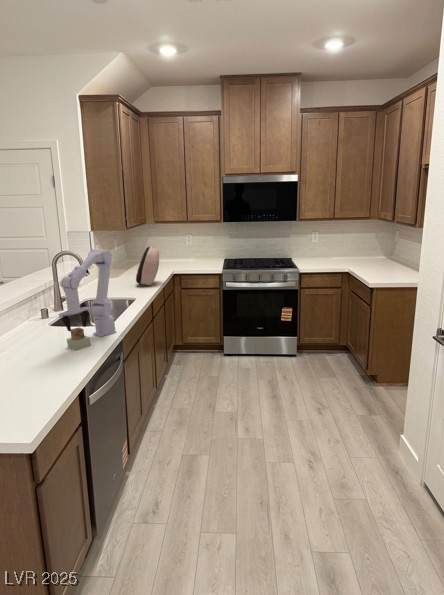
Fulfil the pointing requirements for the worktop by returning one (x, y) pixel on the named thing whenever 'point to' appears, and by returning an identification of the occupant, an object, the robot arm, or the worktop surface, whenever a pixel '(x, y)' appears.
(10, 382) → the worktop surface
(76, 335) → the walnut cube
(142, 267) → the pink rounded shell
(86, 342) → the sage base block
